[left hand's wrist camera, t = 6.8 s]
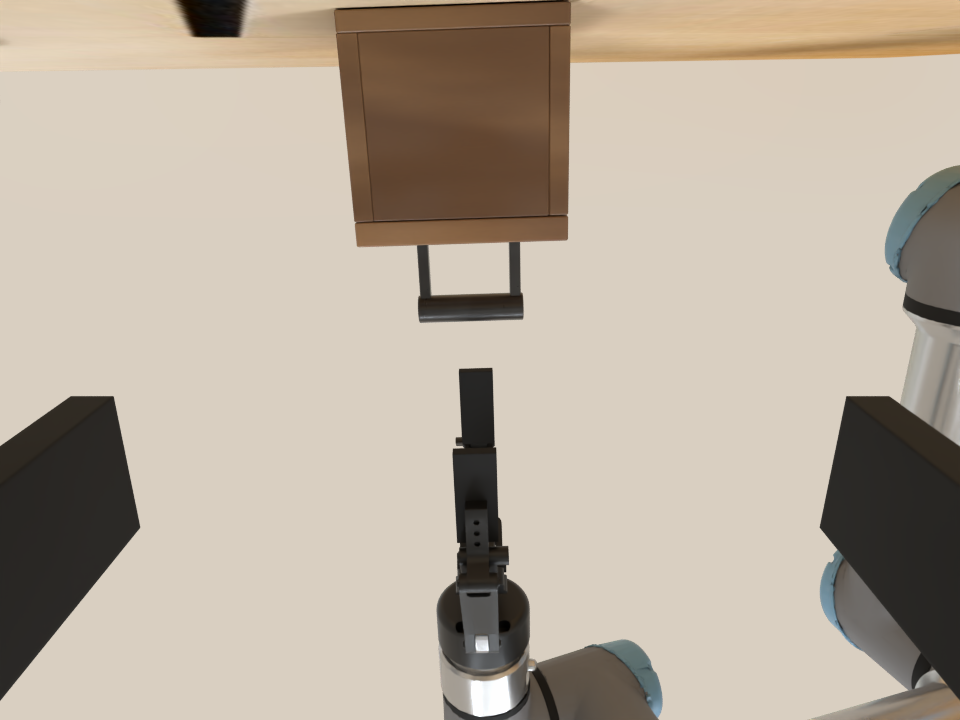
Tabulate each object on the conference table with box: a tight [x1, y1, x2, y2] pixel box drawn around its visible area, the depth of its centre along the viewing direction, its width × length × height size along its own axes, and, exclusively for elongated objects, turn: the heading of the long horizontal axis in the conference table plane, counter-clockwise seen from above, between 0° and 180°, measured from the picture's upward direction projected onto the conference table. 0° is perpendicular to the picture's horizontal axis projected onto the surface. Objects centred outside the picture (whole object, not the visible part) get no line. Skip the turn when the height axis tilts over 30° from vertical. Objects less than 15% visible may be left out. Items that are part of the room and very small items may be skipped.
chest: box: [334, 1, 571, 222], centre depth 37 cm, size 15×10×9 cm, turn 0°
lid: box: [355, 215, 568, 323], centre depth 40 cm, size 16×10×9 cm, turn 0°
